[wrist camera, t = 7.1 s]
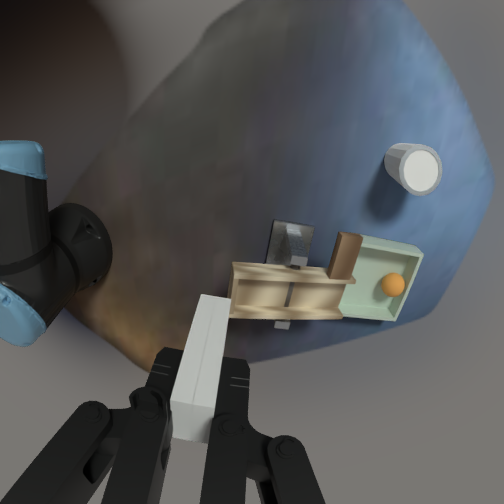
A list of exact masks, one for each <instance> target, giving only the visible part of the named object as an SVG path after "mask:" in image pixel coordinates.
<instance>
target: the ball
mask: <svg viewBox="0 0 504 504" xmlns="http://www.w3.org/2000/svg"><path fill="white" fill-rule="evenodd" d="M381 287H382V290H383V292H384V293H385V294H386V295H387V296H389V297H396V296H399V295H400V294H401V293H402V292H403V290H404V287H405V282H404V279H403V277H402V276H401V275H400V274H398V273H389V274H387V275H386V276H385V277H384V278H383V280H382V283H381Z"/></svg>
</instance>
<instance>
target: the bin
mask: <svg viewBox="0 0 504 504" xmlns="http://www.w3.org/2000/svg"><path fill="white" fill-rule="evenodd" d="M350 233H351V232H350ZM360 235H361V234H360ZM361 236H362V237H363V241H362V245H361V248H360V251H359V254H358V257H357V260H356V263H355V266H354V270H353V273H352V276H353V277H354V278H355V279H356V283H355V284H346V287H345V290H344V293H343V295H342V298H341V301H340V304H339V307H338V308H339V309H340V311H341V313H342V314H343V316H346V317H355V318H365V319H376V320H387V321H396V319H397V317H398V315H399V313H400V311H401V308H402V306H403V304H404V302H405V300H406V297H407V295H408V293H409V290H410V288H411V286H412V283H413V281H414V278H415V276H416V274H417V271H418V269H419V266H420V263H421V261H422V258H423V256H424V254H423V253H422V252H421V251H420V250H419V249H418V248H417V247H416V246H415V245H411V244H406V243H402V242H397V241H392V240H387V239H382V238H377V237H372V236H366V235H361ZM389 273H398V274H400V275H401V276H402V277H403V279H404V282H405V287H404V290H403V292H402V293H401V294H400V295H399V296H396V297H389V296H387V295H386V294H385V293H384V292H383V290H382V287H381V283H382V280H383V278H384V277H385V276H386V275H387V274H389Z"/></svg>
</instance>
